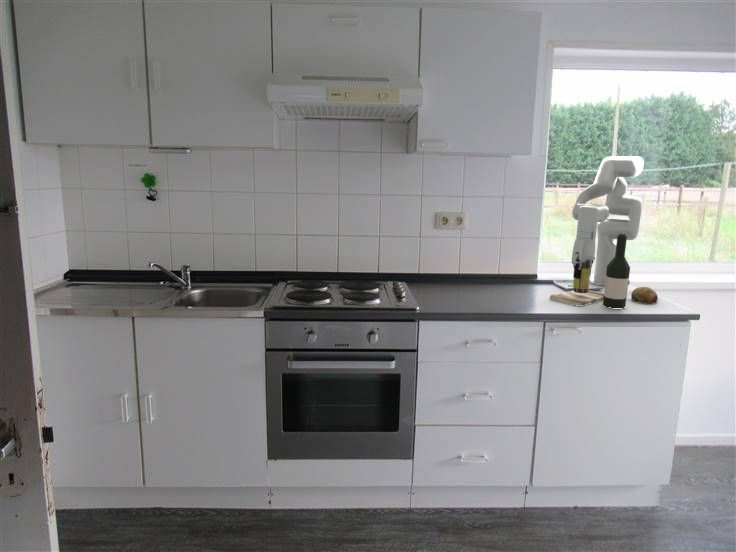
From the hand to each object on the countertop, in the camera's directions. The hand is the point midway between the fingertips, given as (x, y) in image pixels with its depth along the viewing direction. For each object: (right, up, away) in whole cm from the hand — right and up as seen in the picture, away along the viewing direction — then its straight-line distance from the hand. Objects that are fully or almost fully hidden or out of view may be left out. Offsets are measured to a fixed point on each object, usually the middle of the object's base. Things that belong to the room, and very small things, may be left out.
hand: (581, 276), depth 216 cm
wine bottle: (+9, -12, -9) cm, 18 cm away
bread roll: (+27, -11, 0) cm, 29 cm away
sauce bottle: (0, -7, +1) cm, 7 cm away
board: (0, -10, +2) cm, 10 cm away
